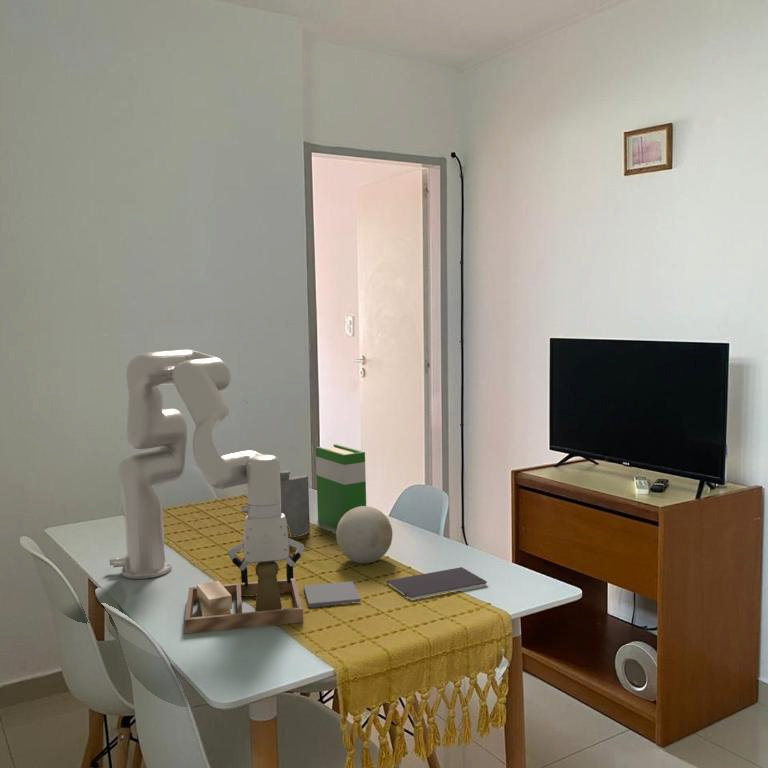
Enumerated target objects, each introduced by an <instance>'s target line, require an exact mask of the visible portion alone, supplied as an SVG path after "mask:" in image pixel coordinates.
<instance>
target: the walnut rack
mask: <svg viewBox="0 0 768 768" xmlns="http://www.w3.org/2000/svg"><path fill="white" fill-rule="evenodd" d="M277 582H278V588H279V594H283V593H282V592H289V593H291V594H292V595H293V596H292V600H293V599H294V600H293V603H294V607H290V608H282V609H278V610H267V611H256V610H255V611H247V612H243V604H242V602H243V601H242V597H241V596H244V595H256V594H257V586H258V581H252V582H249V581H248V587H245V583H228V584H222V585H223V586H224V588H225V589H226V590H227V591H228V592H229V593H230V594H231V596H232V599H233V598H236V609H237V612H236V613H235V612H234V613H231V614H224V615H213V616H203V617H202V616H193V613H194V612H193V611H194V605H195V604H194V603H195V602H200V600H199V598H198V596H197V586H192V587H188V591H187V592H188V593H187V594H188V595H187V601H186V609H185V615H184V616H185V618H184V626H185V627H184V629H185V630H184V631H185V634H193V633H195V634H196V633H205V632H216V631H226V630H235V629H236V630H238V629H246V628H256V627H267V626H268V627H269V626H278V625H288V623H289V624H298V623H304V607H303V604H302V600H301V597H300V592H299V589H298V588H299V587H298V585H297V580H296V578H292V579H291V583H290V584H288V583H287V578H284V579H277ZM256 596H257V595H256ZM244 597H245V596H244Z"/></svg>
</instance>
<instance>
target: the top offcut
mask: <svg viewBox="0 0 768 768" xmlns="http://www.w3.org/2000/svg"><path fill="white" fill-rule="evenodd" d="M223 585H224V584H222V583H221V582H220V580H215V581H210V582H203V583H197V584H196V587H197V596H198V598H199V600H200V601H201V602H202V604H203V605H204V606H205V607H206V609H207V610H208V611H209V613H212V612H217V611H223V610H228V609H230V610H232V609H233V601H232V599H233V598H232V596H231V594H230V593H229V592H228V591H227V590H226V589H225V588H224V586H223ZM200 601H199V602H200Z"/></svg>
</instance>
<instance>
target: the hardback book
mask: <svg viewBox="0 0 768 768" xmlns="http://www.w3.org/2000/svg"><path fill="white" fill-rule="evenodd" d="M315 461H316V462H315V465H316V467H315V470H316V472H315V473H316V496H317V497H316V498H317V500H316V503H317V520H318V521H317V522H319V523H321V524H323V525H326V526H328V527H330V528H332V529H334V530H336V531H337V526H338V523H339V521H340V520H341V518H342V517H343V516H344V514H346V513H347V512H348V511H349V510H351V509H353V508H356V507H360V506H367V491H366V490H367V483H366V482H367V480H366V479H367V478H366V476H367V475H366V452H365V451H362V450H359V449H354V448H351V447H347V446H345V445H341V444H338V443H337V444H333V446H332V447H321V446H315Z"/></svg>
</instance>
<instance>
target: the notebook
mask: <svg viewBox="0 0 768 768" xmlns="http://www.w3.org/2000/svg"><path fill="white" fill-rule="evenodd" d="M387 583H388V584H390V585H391V586H392V587H394V588H395V589H396V590H397V591H399V592H400V593H402V594H403V595H404V596H405V597H407V598H409V599H417V598H422V597H427V596H431V595H437V594H442V593H446V592H451V591H460V592H463V591H469V590H474V589H480V588H485V587H486V586H487V583H488V582H487V580H485V579H484V578H481V577H480V576H479V575H476V574H474V573H472V572H471V571H469V570H467V569H466V568H464V567H454V568H449V569H445V570H443V569H442V570H438V571H433V572H427V573H421V574H414V575H411V576H405V577H399V578H394V579H389V580H386V584H387ZM391 586H390V587H391ZM392 587H391V588H392ZM395 589H394V590H395ZM396 590H395V591H396ZM397 591H396V592H397ZM399 592H398V593H399ZM400 593H399V594H400ZM403 595H402V596H403ZM404 596H403V597H404ZM405 597H404V598H405ZM407 598H406V599H407Z"/></svg>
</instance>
